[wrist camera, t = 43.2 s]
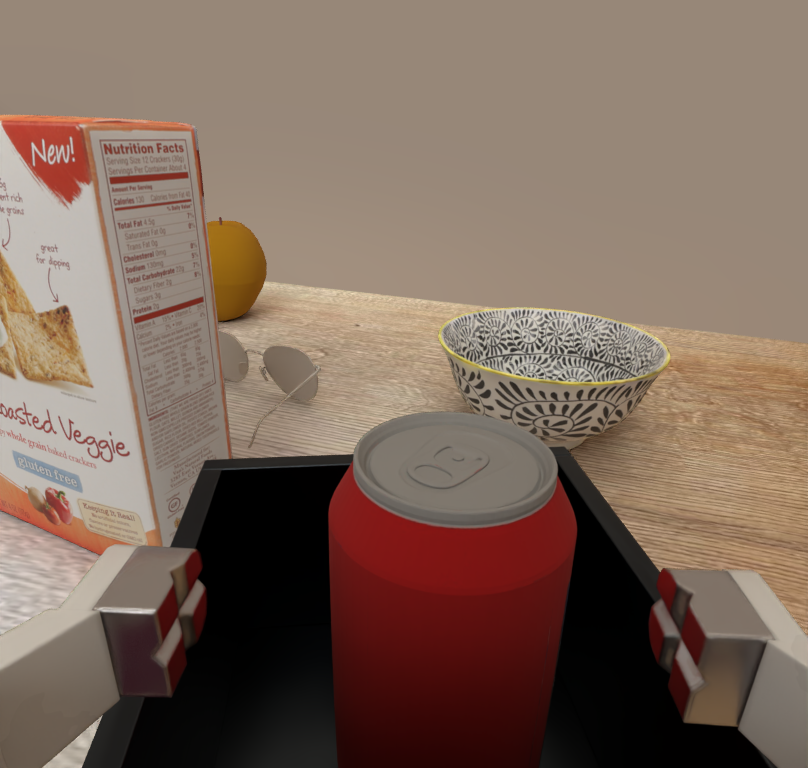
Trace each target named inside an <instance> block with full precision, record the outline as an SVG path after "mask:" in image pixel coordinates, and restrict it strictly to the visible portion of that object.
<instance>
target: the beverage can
mask: <svg viewBox="0 0 808 768" xmlns="http://www.w3.org/2000/svg"><path fill="white" fill-rule="evenodd" d="M557 474H558V465H557V461H556V459H555V456H554V454H553V453H552V451H551V450H550V449H549V447H548V446H547V445H546V444H545V443H544V442H543V441H542V440H540V439H539V438H538V437H537V436H535V435H534V434H532V433H530V432H529V431H527V430H525V429H523V428H521V427H519V426H517V425H514V424H512V423H509V422H506V421H503V420H500V419H496V418H493V417H488V416H484V415H479V414H472V413H464V412H425V413H417V414H411V415H406V416H402V417H398V418H394V419H391V420H389V421H386V422H384V423H382V424H380V425H378V426H376V427H374V428H373V429H371V430H370V431H368V432H367V433H366V434H365V435H364V436H363V437H362V438H361V439H360V440H359V442H358V443H357V445H356V447H355V450H354V456H353V461H352V463H351V465H350V466H349V468H348V470H347V471H346V473H345V475H344V476H343V478H342V480H341V481H340V483H339V485H338V486H337V488H336V490H335V492H334V494H333V496H332V499H331V502H330V506H329V513H328V515H329V564H330V604H331V634H332V660H333V685H334V708H335V727H336V746H337V762H338V768H539V766H540V760H541V755H542V749H543V744H544V738H545V733H546V727H547V721H548V715H549V709H550V704H551V698H552V692H553V686H554V680H555V674H556V668H557V662H558V656H559V649H560V643H561V637H562V630H563V624H564V618H565V611H566V605H567V599H568V592H569V585H570V578H571V572H572V565H573V558H574V551H575V544H576V538H577V523H576V518H575V515H574V511H573V508H572V506H571V504H570V501H569V499H568V497H567V495H566V493H565V491H564V488H563V486H562V484H561V482H560V480H559V477H558V475H557Z"/></svg>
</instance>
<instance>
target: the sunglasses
mask: <svg viewBox="0 0 808 768" xmlns="http://www.w3.org/2000/svg"><path fill="white" fill-rule="evenodd" d="M218 331H219V340H220V350H221V359H222V367H223V376H224V378H226V379H228V380H230V381H240V380H242V379H243V378H244V377H245V376H246V375H247V372H248V367H249V363H248V356H247V353H246V352H248V351H250V352H254V353H258V354H260V355H263V361H264V364H265V367H264V368H266V370H267V372H268V373H269V375H270V376H271V378H272V379H273V380H274V382H275V383H276V384H277V385H278V386H279V387H280V388H281V389H282V390H283V391H284V392H285V393H286V394H288V396H287V397H286V398H284V399H283V400H282V401H281V402H280V403H279V404H281V403H282V402H283V401H284V400H286V399H287V398H288V397H289V396H291V397H293V398H295V399H297V400H301V401H309V400H311V399H312V398H314V396H315V395H316V393H317V388H318V376H317V374H318V373H319V372H320V371H321V368H320V366H318V365H314V363H313V361H312V360H311V358H310V357H309V356H308V355H307V354H306V353H305V352H303V351H302V350H300V349H298V348H295V347H291V346H285V345H274V346H271V347H269V348H268V349H267V350H266V351H265V352H264V354H263V353H261V352H258V351H254V350H250V349H247V350H245V349H244V347H243V345H242V344H241V343H240V342H239V340H238V339H237V338H236V337H234V336H233V335H231V334H230V333H227V332H225V331H222V330H218ZM264 368H263V370H262V368H261V366H259V369H260V372H261V374H262V375H263V377H264V379H265V380H266V381H268V379H267V377H266V376H265V374H266V371H265V370H264ZM316 369H317V370H316ZM279 404H278V405H279ZM278 405H275V406H274V407H273V408H272V409H271V410H270V411H269V412H267V413H266V414H265V415H264V416H263V417H262V418H261V420H260V421H259V423H258V424H257V426H256V429H255V431H254V434H253V437H252V440H251V443H250V445H249V447H248V448H250V447H251V446H252V444H253V441H254V438H255V435H256V432H257V429H258V427H259V425H260V423H261V422H262V421H263V419H264V418H265V417H267V416H268V415H269V414H270V413H271V412H272V411H274V410H275V409H276V408H277V407H278Z"/></svg>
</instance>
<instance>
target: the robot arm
mask: <svg viewBox="0 0 808 768" xmlns="http://www.w3.org/2000/svg"><path fill="white" fill-rule="evenodd" d="M202 569H203V564H202V559H201V554H200V552H199V551H198V550H197V549H191V548H176V547H160V546H144V545H142V546H138V545H121V544H114V545H112V546H110V547H108V548H107V549H106V550H105V551H104V552H103V554H102V555H101V556H100V557H99V559H98V560H97V561H96V562H95V564H94V565H93V566H92V567H91V569H90V570H89V571H88V572H87V574H86V575H85V576H84V577H83V579H82V580H81V581H80V582H79V584H78V585H77V586H76V587H75V589H74V590H73V591H72V592H71V594H70V595H69V596H68V597H67V599H66V600H65V601H64V602H63V604H62V605H61V606H60V607H59V609H48V610H46V611H44V612H42V613H40V614H39V615H37V616H35V617H33V618H31V619H29V620H28V621H26V622H24V623H22V624H20V625H18V626H16V627H15V628H13V629H11V630H9V631H7V632H5V633H4V634H2V635H0V768H42V767H43V766H44V765H46V764H47V763H48V762H49V761H50V760H51V759H52V758H54V757H55V756H56V755H57V754H58V753H59V752H60V751H62V750H63V749H64V748H65V747H66V746H67V745H68V744H70V743H71V742H72V741H73V740H74V739H75V738H77V737H78V736H79V735H80V734H81V733H82V732H83V731H85V730H86V729H87V728H88V727H89V726H90V725H91V724H93V723H94V722H95V721H96V720H97V719H98V718H99V717H101V716H102V715H103V714H104V713H105V712H106V711H108V710H109V709H110V708H111V707H112V706H113V705H114V704H116V703H117V702H118V701H119V700H120V697H166V698H171V697H172V695H173V693H174V691H175V689H176V687H177V685H178V682H179V680H180V678H181V676H182V674H183V672H184V670H185V668H186V665H187V660H186V653H185V651H186V650H188V649H189V648H191V647H192V646H193V645H195V644H196V643H197V642H198V639H199V637H200V635H201V633H202V630H203V627H204V623H205V618H206V614H207V592H206V587H205V586H204V585H203V584H202V583H201V582H200V581H199V580H198V579H197V578H198V576H199V574H200V573H201V571H202ZM656 587H657V590H658V592H659V594H660V596H661V599H659V600H658V601H657V602H656V603H655V604H654V605H653V606H651V611H650V616H649V622H648V624H649V639H650V643H651V647H652V651H653V654H654V656H655V658H656V661H657V663H658V664H659V665H660V666H661V667H662V668H664V669H665V670H666V671H667V672H668V673H670V674H671V675H670V679H669V683H668V688H669V691H670V693H671V695H672V697H673V700H674V702H675V704H676V706H677V709H678V711H679V713H680V715H681V718H682V720H683V722H684V723H696V724H709V725H722V726H735V727H738V730H739V731H740V732H741V733H742V734H743V735H744V736H745V737H746V738H747V739H748V740H749V741H750V742H751V743H752V744H754V745H755V746H756V747H757V748H758V749H759V750H760V751H761V752H762V753H763V754H764V755H765V756H766V757H767V758H768V759H769V760H770V761H771V762H772V763H773V764H774V765H775V766H776V767H777V768H808V636H807V635H806V634H805V632H804V631H803V630H802V629H801V627H800V626H799V625H798V623H797V622H796V621H795V619H794V618H793V617H792V616H791V614H790V613H789V612H788V610H787V609H786V608H785V606H784V605H783V604H782V603H781V601H780V600H779V599H778V597H777V596H776V595H775V594H774V592H773V591H772V590H771V588H770V587H769V586H768V584H767V583H766V582H765V581H764V579H763V578H762V577H761V575H760V574H758V573H757V572H755V571H753V570H734V569H722V570H705V569H676V568H663V569H662V571H661V572H660V574H659V576H658V580H657V584H656Z"/></svg>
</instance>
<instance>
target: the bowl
mask: <svg viewBox="0 0 808 768" xmlns="http://www.w3.org/2000/svg"><path fill="white" fill-rule="evenodd" d="M438 337H439V341H440V343H441V345H442V347H443V349H444V351H445V353H446V355H447V358H448V360H449V363H450V366H451V370H452V373H453V376H454V379H455V382H456V384H457V387H458V389H459V391H460V393H461V395H462V396H463V398H464V400H465V401H466V403H467V404H468V405H469V406H470V408H471V409H472V410H473V411H474V412H475V413H476V414H479V415H484V416H488V417H493V418H496V419H500V420H503V421H506V422H509V423H512V424H514V425H517V426H519V427H521V428H523V429H525V430H527V431H529V432H530V433H532V434H534V435H535V436H537V437H538V438H539V439H540V440H542V441H543V442H544V443H545V444H546V445H547V446H548V447H560V446H564V447H566V449H567V450H569V449H572V448H575V447H577V446H579V445H580V444H581V443H582V442H583V441H584V440H585V439H587V438H590V437H593V436H596V435H599V434H601V433H604V432H606V431H608V430H610V429H612V428H613V427H615V426H616V425H618V424H619V423H620V422H622V421H623V420H624V419H626V417H627V416H628V415H629V414H630V413H631V412H632V411H633V410H634V409H635V408H636V406H637V405H638V404H639V402H640V401H641V400H642V398H643V396H644V395H645V394H646V392H647V390H648V389H649V387H650V386H651V384H652V383H653V382H654V380H655V379H656V378H657V377H658V375H659V374H660V373H661V372H662V371H663V370H664V369H665V368H666V367H667V365H668V363H669V361H670V352H669V350H668V348H667V347H666V346H665V344H664V343H663V342H661V341H660V340H659V339H658V338H656V337H655V336H653V335H651V334H650V333H648V332H646V331H644V330H642V329H639V328H637V327H634V326H632V325H629V324H626V323H623V322H620V321H617V320H612V319H609V318H605V317H600V316H596V315H591V314H585V313H580V312H573V311H565V310H556V309H544V308H516V307H515V308H497V309H487V310H480V311H474V312H470V313H466V314H463V315H460V316H457V317H455V318H453V319H450V320H449V321H447V322H446V323H445V324H444V325H442V327H441V328H440V330H439V333H438Z"/></svg>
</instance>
